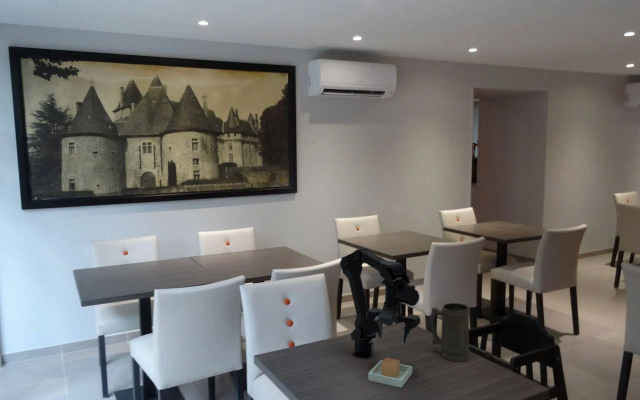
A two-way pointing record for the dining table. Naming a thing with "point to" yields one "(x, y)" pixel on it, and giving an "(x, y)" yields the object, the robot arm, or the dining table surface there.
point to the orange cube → (390, 367)
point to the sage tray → (398, 381)
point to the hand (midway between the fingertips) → (392, 340)
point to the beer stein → (452, 331)
